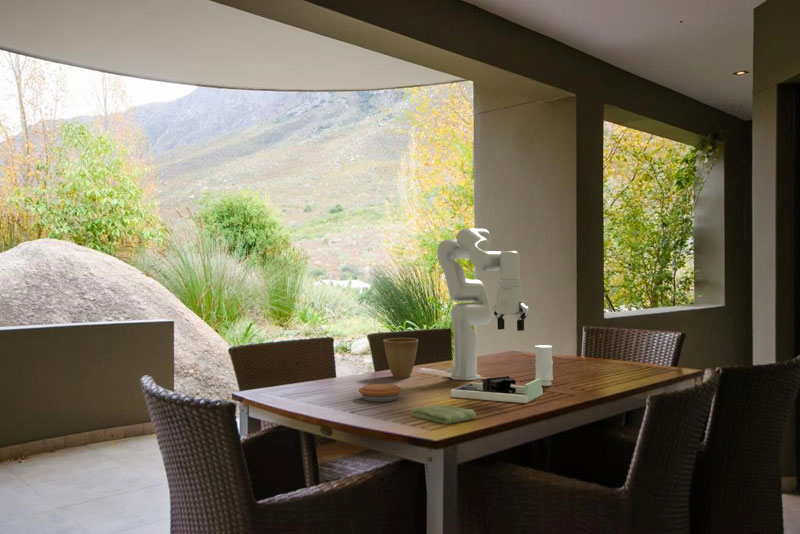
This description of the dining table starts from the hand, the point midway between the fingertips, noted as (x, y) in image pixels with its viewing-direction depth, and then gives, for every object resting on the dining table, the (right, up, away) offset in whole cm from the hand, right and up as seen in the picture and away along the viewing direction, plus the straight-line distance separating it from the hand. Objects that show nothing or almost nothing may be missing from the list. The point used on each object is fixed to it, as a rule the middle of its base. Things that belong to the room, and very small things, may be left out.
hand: (510, 329), depth 251 cm
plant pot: (-41, -24, +38) cm, 61 cm away
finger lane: (-6, -23, -9) cm, 25 cm away
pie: (-48, -24, -13) cm, 55 cm away
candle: (+15, -23, +14) cm, 31 cm away
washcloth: (-28, -23, -44) cm, 57 cm away
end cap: (-6, -23, -10) cm, 26 cm away
